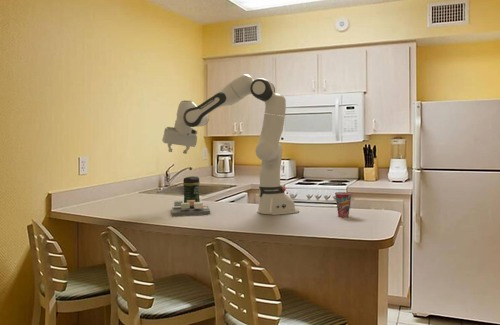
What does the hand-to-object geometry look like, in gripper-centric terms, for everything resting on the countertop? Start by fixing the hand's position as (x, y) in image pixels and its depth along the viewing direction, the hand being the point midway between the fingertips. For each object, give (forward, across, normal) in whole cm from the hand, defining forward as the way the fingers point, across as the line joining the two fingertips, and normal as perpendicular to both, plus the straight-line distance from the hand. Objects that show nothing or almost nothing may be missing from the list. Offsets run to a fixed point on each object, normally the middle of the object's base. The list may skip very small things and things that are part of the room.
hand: (177, 152), depth 251 cm
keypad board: (+30, +5, -18) cm, 35 cm away
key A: (+25, +6, -23) cm, 35 cm away
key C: (+27, +7, -14) cm, 31 cm away
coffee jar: (+31, +14, -5) cm, 34 cm away
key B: (+26, 0, -20) cm, 33 cm away
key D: (+28, +1, -11) cm, 30 cm away
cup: (+11, +56, -81) cm, 99 cm away
